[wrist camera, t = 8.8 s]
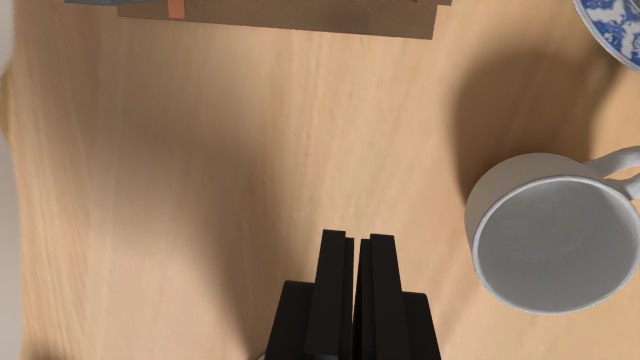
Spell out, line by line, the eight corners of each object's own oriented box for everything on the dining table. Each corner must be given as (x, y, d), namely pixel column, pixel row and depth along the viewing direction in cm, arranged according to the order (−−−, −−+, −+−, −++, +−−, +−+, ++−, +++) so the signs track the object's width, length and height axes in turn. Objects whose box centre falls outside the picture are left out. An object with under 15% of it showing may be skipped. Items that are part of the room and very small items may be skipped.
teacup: (492, 272, 39) (521, 338, 32) (427, 183, 36) (443, 234, 29) (651, 193, 35) (727, 249, 28) (593, 84, 32) (661, 115, 25)
